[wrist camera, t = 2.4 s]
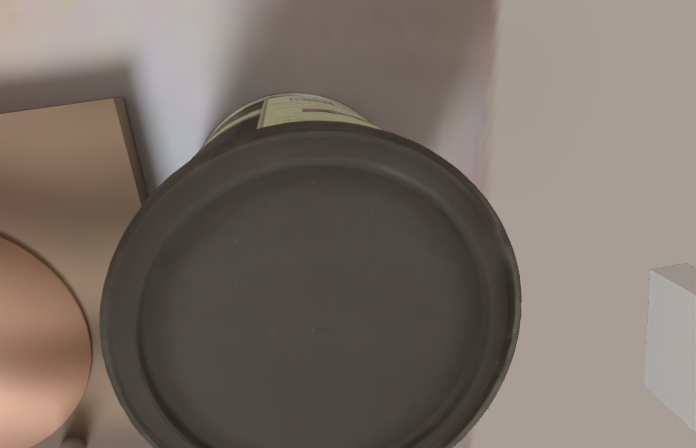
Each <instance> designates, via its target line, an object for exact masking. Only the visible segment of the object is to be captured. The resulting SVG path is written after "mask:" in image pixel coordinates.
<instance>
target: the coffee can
mask: <svg viewBox="0 0 696 448" xmlns="http://www.w3.org/2000/svg"><path fill="white" fill-rule="evenodd" d="M520 319H521V285H520V275H519V270H518V266H517V262H516V258H515V254H514V251H513V248H512V245H511V243H510V241H509V238H508V236H507V234H506V231H505V229H504V227H503V225H502V223H501V221H500V219H499V217H498V216H497V214H496V212H495V211H494V209H493V208H492V206H491V205H490V203H489V202H488V200H487V199H486V198H485V197H484V195H483V194H482V193H481V192H480V191H479V190H478V188H477V187H476V186H475V185H474V184H473V183H472V182H471V181H470V180H469V179H468V178H467V177H466V176H465V175H463V174H462V173H461V172H460V171H459V170H458V169H457V168H456V167H454V166H453V165H452V164H450V163H449V162H448V161H446V160H445V159H443V158H442V157H440V156H439V155H437V154H435V153H434V152H432V151H431V150H429V149H427V148H425V147H423V146H421V145H419V144H417V143H415V142H413V141H411V140H408V139H406V138H403V137H401V136H398V135H396V134H393V133H390V132H387V131H384V130H382V129H380V128H378V127H377V126H375V125H373V124H372V123H370V122H368V121H367V120H365V119H364V118H363V117H362V116H361V115H359V114H358V113H357V112H355V111H354V110H352V109H351V108H350V107H347V106H345V105H343V104H341V103H339V102H337V101H334V100H331V99H328V98H325V97H322V96H318V95H312V94H303V93H285V94H277V95H272V96H266V97H263V98H260V99H258V100H256V101H253V102H251V103H249V104H247V105H245V106H243V107H241V108H240V109H238V110H236V111H235V112H234V113H232V114H231V115H229V116H228V117H227V118H226V119H225V120H223V121H222V122H221V123H220V124H219V125H218V126H217V128H216V129H215V130H214V131H213V132H212V133H211V135H210V136H209V138H208V139H207V141H206V142H205V144H204V145H203V147H202V148H201V149H200V150H199V152H198V153H197V154H196V155H195V156H194V157H193V158H192V159H191V160H190V161H189V162H188V163H186V164H185V165H184V166H182V167H181V168H180V169H178V170H177V171H176V172H174V173H173V174H172V175H171V176H170V177H169V178H167V179H166V180H165V181H164V182H163V183H162V184H161V185H160V186H159V187H158V188H157V189H156V190H155V191H154V192H153V193H152V194H151V195H150V196H149V197H148V199H147V200H146V201H145V203H144V204H143V205H142V206H141V208H140V209H139V210H138V212H137V213H136V215H135V216H134V217H133V219H132V220H131V222H130V223H129V225H128V227H127V228H126V230H125V232H124V234H123V236H122V237H121V239H120V241H119V243H118V246H117V248H116V250H115V252H114V254H113V257H112V259H111V262H110V265H109V267H108V272H107V275H106V278H105V281H104V286H103V290H102V296H101V303H100V315H99V331H100V343H101V350H102V356H103V359H104V362H105V368H106V371H107V374H108V377H109V379H110V382H111V385H112V387H113V389H114V392H115V394H116V397H117V399H118V401H119V404H120V405H121V407H122V408H123V409H124V411H125V413H126V414H127V416H128V418H129V420H130V422H131V423H132V425H133V426H134V427H135V428H136V430H137V431H138V432H139V433H140V435H141V436H142V437H143V438H144V439H145V440H146V441H147V442H148V443H149V444H150V445H151V446H152V447H153V448H453V447H454V446H455V445H456V444H457V443H458V442H460V441H461V440H462V439H463V438H464V437H465V435H466V434H467V433H468V432H469V431H470V430H471V429H472V427H473V426H474V425H475V424H476V423H477V422H478V421H479V419H480V418H481V417H482V415H483V414H484V413H485V412H486V410H487V409H488V407H489V406H490V404H491V403H492V401H493V399H494V398H495V396H496V394H497V392H498V390H499V389H500V387H501V384H502V382H503V381H504V379H505V376H506V374H507V371H508V369H509V366H510V364H511V361H512V358H513V355H514V352H515V348H516V343H517V339H518V335H519V328H520Z"/></svg>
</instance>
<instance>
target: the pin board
mask: <svg viewBox="0 0 696 448" xmlns="http://www.w3.org/2000/svg"><path fill="white" fill-rule="evenodd" d="M148 197H149V196H148V192H147V189H146V185H145V181H144V177H143V173H142V169H141V165H140V161H139V157H138V153H137V149H136V145H135V142H134V138H133V134H132V130H131V126H130V122H129V118H128V114H127V110H126V106H125V102H124V98H123V96H122V97H115V98H108V99H101V100H94V101H87V102H80V103H73V104H66V105H59V106H51V107H44V108H37V109H30V110H23V111H16V112H9V113H2V114H0V448H153V447H152V446H151V445H150V444H149V443H148V442H147V441H146V440H145V439H144V438H143V437H142V436H141V435H140V433H139V432H138V431H137V430H136V428H135V427H134V426H133V425H132V423H131V422H130V420H129V418H128V416H127V414H126V413H125V411H124V409H123V408H122V407H121V405H120V404H119V401H118V399H117V397H116V394H115V392H114V389H113V387H112V385H111V382H110V379H109V377H108V374H107V371H106V368H105V362H104V359H103V356H102V350H101V343H100V331H99V315H100V303H101V296H102V290H103V286H104V281H105V278H106V275H107V272H108V267H109V265H110V262H111V259H112V257H113V254H114V252H115V250H116V248H117V246H118V243H119V241H120V239H121V237H122V236H123V234H124V232H125V230H126V228H127V227H128V225H129V223H130V222H131V220H132V219H133V217H134V216H135V215H136V213H137V212H138V210H139V209H140V208H141V206H142V205H143V204H144V203H145V201H146V200H147V199H148Z"/></svg>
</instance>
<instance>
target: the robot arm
mask: <svg viewBox="0 0 696 448" xmlns="http://www.w3.org/2000/svg"><path fill="white" fill-rule="evenodd" d="M644 387H645V388H646V389H648V390H649V391H650V392H651V393H652V394H653V395H654V396H655V397H656V398H658V399H659V400H660V401H661V402H662V403H663V404H664V405H665V406H667V407H668V408H669V409H670V410H671V411H672V412H673V413H674V414H676V415H677V416H678V417H679V418H680V419H681V420H682V421H684V422H685V423H686V424H687V425H688V426H689V427H690V428H691V429H693V430H694V431H695V432H696V268H695V267H693V266H691V265H689V264H687V263H683V264H678V265H672V266H667V267H661V268H656V269H651V270H650V281H649V300H648V320H647V340H646V358H645V377H644Z"/></svg>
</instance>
